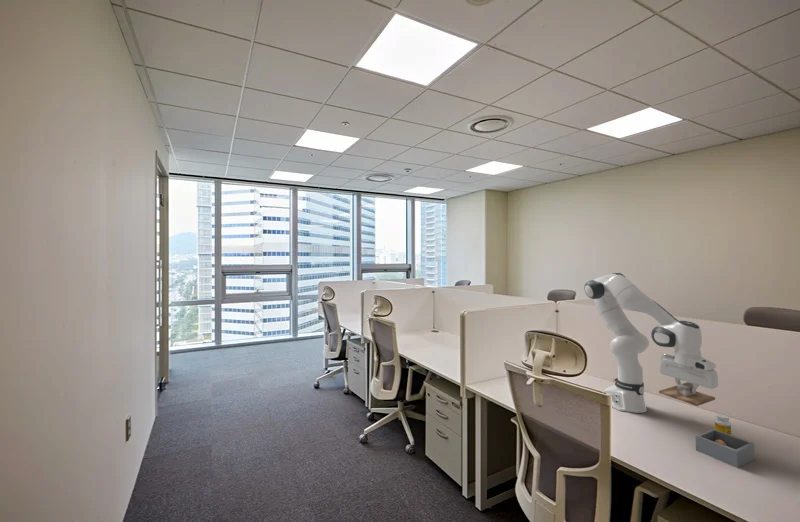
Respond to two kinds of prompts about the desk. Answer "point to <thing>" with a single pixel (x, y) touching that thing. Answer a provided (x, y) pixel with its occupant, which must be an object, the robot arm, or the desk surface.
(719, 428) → the supplement bottle
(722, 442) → the ball
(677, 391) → the lid
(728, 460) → the storage box
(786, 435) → the desk surface
